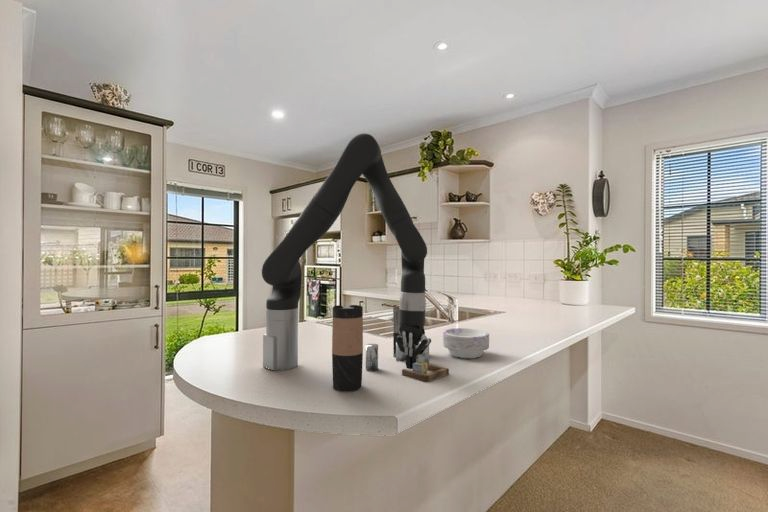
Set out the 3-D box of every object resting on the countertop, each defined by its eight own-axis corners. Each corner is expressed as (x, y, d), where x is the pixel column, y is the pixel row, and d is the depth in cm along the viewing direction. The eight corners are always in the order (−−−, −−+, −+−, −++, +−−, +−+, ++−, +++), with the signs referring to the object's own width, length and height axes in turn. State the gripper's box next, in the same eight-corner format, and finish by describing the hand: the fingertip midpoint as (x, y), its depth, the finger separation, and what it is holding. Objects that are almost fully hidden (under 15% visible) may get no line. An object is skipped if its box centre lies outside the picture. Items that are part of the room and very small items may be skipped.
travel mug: (350, 394, 88) (350, 309, 89) (325, 388, 92) (325, 307, 93) (368, 385, 95) (369, 306, 95) (344, 380, 99) (345, 304, 99)
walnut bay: (426, 382, 98) (426, 376, 98) (402, 375, 104) (402, 369, 104) (448, 374, 105) (448, 368, 105) (424, 368, 111) (424, 362, 111)
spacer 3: (424, 366, 112) (424, 342, 112) (414, 364, 115) (414, 341, 115) (431, 364, 115) (431, 341, 115) (422, 361, 117) (422, 339, 118)
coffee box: (420, 353, 129) (420, 306, 129) (420, 357, 122) (420, 308, 123) (394, 352, 130) (394, 305, 130) (392, 357, 123) (392, 307, 124)
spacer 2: (402, 361, 117) (402, 339, 117) (393, 359, 120) (393, 337, 120) (409, 359, 120) (409, 337, 120) (401, 357, 122) (401, 336, 122)
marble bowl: (486, 363, 116) (486, 337, 117) (438, 358, 122) (438, 334, 122) (491, 352, 131) (491, 329, 131) (447, 348, 136) (447, 326, 136)
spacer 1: (371, 371, 107) (371, 347, 107) (363, 369, 109) (363, 345, 109) (380, 369, 109) (380, 345, 109) (372, 366, 112) (372, 343, 112)
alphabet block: (412, 373, 105) (412, 362, 105) (418, 371, 107) (418, 360, 107) (421, 376, 103) (421, 364, 103) (427, 373, 105) (427, 362, 105)
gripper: (386, 306, 110) (385, 365, 110) (422, 311, 101) (420, 376, 100) (403, 304, 115) (402, 361, 115) (439, 309, 106) (437, 371, 106)
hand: (410, 368), depth 108 cm, fingers closed
